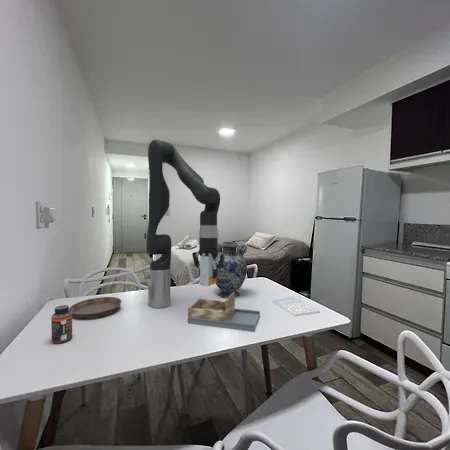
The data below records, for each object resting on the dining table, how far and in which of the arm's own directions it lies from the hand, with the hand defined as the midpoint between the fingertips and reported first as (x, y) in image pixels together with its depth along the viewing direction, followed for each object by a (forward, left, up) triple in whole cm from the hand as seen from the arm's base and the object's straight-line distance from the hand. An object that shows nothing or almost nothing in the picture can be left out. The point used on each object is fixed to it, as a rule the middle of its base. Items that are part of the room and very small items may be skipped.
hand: (208, 277), depth 106 cm
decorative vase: (0, +33, -17) cm, 37 cm away
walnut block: (+6, +3, -15) cm, 16 cm away
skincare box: (0, 0, -3) cm, 3 cm away
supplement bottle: (-41, -32, -17) cm, 55 cm away
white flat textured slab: (+34, +24, -18) cm, 45 cm away
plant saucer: (-50, -7, -17) cm, 53 cm away
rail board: (+7, 0, -17) cm, 18 cm away
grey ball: (+6, -3, -15) cm, 16 cm away
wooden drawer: (+2, 0, -15) cm, 16 cm away
